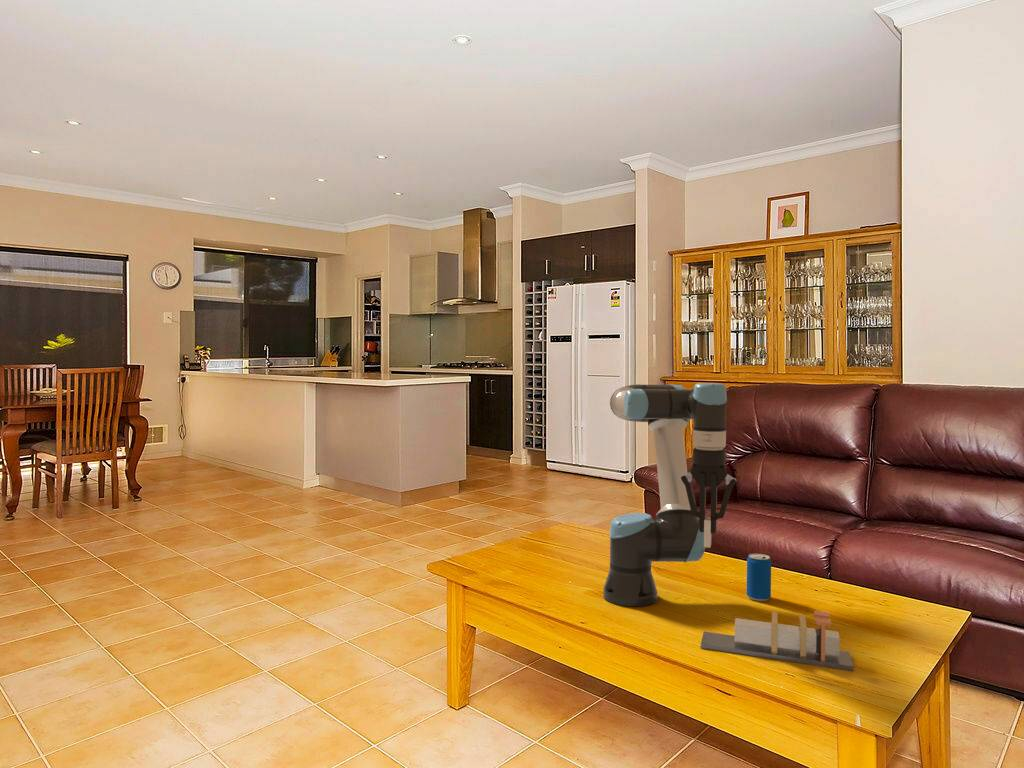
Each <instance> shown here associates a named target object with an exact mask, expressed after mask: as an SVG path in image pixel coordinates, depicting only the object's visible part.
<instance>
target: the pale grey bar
mask: <svg viewBox="0 0 1024 768" xmlns="http://www.w3.org/2000/svg"><path fill="white" fill-rule="evenodd" d="M800 632H801V629H800V627H799V626H798V625H790V624H783V623H778V630H777V647H778V648H785V649H792V650H799V651H800ZM734 636H735V640H734V641H736V642H743V643H750V644H757V645H764V646H771V645H772V622H767V621H761V620H753V619H752V620H751V619H744V618H737V617H735V619H734ZM840 639H841V638H840V633H839V631H836V630H827V629H826V631H825V654H827V655H834V656H839V650H840V651H841V649H840V648H841V647H840V642H841V640H840ZM806 652H813V653H818V654H821V629H819V628H818V627H816V628H814V627H807V640H806Z"/></svg>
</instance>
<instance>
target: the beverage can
mask: <svg viewBox="0 0 1024 768" xmlns="http://www.w3.org/2000/svg"><path fill="white" fill-rule="evenodd" d="M771 595H772V561H771V558H770V555H766V554H763V553H749V554H748V557H747V558H746V596H747V597H748V598H749V599H751V600H753V601H754V602H755V601H756V602H766V601H769V600H770V599H771V597H772V596H771Z"/></svg>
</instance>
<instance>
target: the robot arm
mask: <svg viewBox="0 0 1024 768" xmlns="http://www.w3.org/2000/svg"><path fill="white" fill-rule="evenodd" d="M727 395H728V394H727V386H726V385H725V384H724V383H717V382H698V383H696V384H695V385H694V386H693V388H688V389H687V388H686V387H685V386H684V385H680V384H671V383H668V384H631V385H626V386H622V387H619V388H618V389H616V390H615V391H614V392H613V393H612V394H611V396H610V400H609V407H610V409H611V411H612V413H613V414H614V415H615V416H616V417H617V418H619V419H622V420H624V421H629V422H636V423H638V422H639V423H647V425H648V426H647V427H648V429H649V431H651V432H652V433H653V434H654V435H653V436H654V437H653V438H654V449H655V457H656V469H657V480H658V489H659V492H658V493H659V500H660V501H659V503H660V509H659V510H658V511H657V512H656V514H655V517H656V519H653V517H652V515H651V514H648V513H645V512H644V513H643V512H632V513H625V514H622V515H618V516H616V517H613V518H612V520H611V522H610V528H609V533H608V534H609V570H608V573H607V577H606V580H605V583H604V585H603V589H602V590H603V591H602V592H603V593H602V594H603V598H604V600H605V601H607V602H609V603H611V604H615V605H618V606H625V607H646V606H651V605H653V604H655V603H656V602H658V590H657V585H656V582H655V579H654V577H653V572H652V564H653V562H656V563H657V562H660V563H661V562H662V563H663V562H667V563H669V562H670V563H672V562H673V563H674V562H676V563H677V562H681V563H689V562H699V561H700V560H701V559H702V558H703V557H704V554H705V550H706V548H707V549H708V548H709V549H710V548H711V546H712V534H716V532H717V520H719V519H724V517H725V514H726V509H727V507H728V503H729V499H730V496H731V492H732V489H733V488H734V486H735V485H736V483H737V478H736V477H733V476H731V475H730V474H728V469H727V468H726V455H727V454H726V450H725V448H726V445H727V444H726V443H727V441H726V440H727V430H726V429H727V401H728V396H727ZM691 420H692V421H693V422H692V423H693V424H692V425H693V427H692V428H693V429H692V446H694V448H692V466H691V468H690V471H688V469H687V468H688V465H687V457H686V449H685V441H684V440H685V439H684V432H683V431H684V430H685V429H686V428H687V427H688V426H687V425H688V422H690V421H691ZM693 479H694V480H695V482H696V484H697V485H698V486H699V506H697V502H696V497H695V492H694V490H693V489H694V488H693V485H692V480H693ZM724 480H725V484H726V487H725V491H724V494H723V498H722V501H721V504H720V508H719V511H717V510H718V509H717V508H718V487H719V486H720V485H721V484H722V482H723V481H724ZM707 487H709V488H710V517H706V507H707V504H706V503H707V502H706V500H707ZM698 507H699V509H698Z"/></svg>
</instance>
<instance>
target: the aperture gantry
mask: <svg viewBox="0 0 1024 768" xmlns="http://www.w3.org/2000/svg"><path fill="white" fill-rule="evenodd" d="M813 615H814V617H815V619H814V620H815V621H814V622H815V625H818V629H821V661H825V631H826V630H827V629H826V626H827V627H832V622H831V619H830V613H829V611H822V610H821V611H820V610H813Z"/></svg>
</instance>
